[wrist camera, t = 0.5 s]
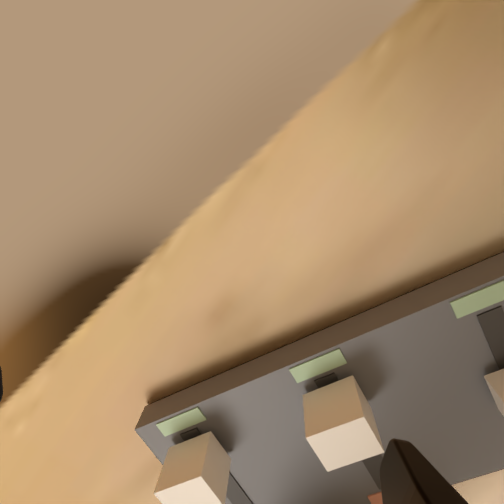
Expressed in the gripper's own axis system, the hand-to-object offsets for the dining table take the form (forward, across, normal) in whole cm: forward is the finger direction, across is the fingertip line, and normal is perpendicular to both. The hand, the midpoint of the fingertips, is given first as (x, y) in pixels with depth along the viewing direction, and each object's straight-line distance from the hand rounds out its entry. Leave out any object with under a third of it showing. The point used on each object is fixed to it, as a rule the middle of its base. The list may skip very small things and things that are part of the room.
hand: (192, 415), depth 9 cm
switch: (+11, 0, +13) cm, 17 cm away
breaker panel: (+13, -9, +10) cm, 18 cm away
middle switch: (+11, -7, +8) cm, 15 cm away
